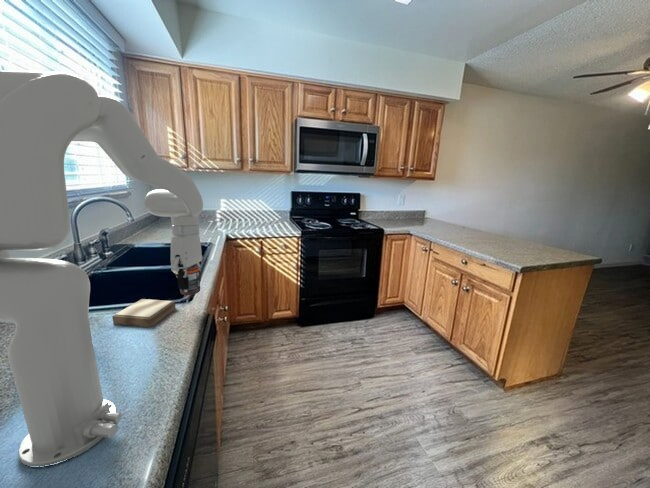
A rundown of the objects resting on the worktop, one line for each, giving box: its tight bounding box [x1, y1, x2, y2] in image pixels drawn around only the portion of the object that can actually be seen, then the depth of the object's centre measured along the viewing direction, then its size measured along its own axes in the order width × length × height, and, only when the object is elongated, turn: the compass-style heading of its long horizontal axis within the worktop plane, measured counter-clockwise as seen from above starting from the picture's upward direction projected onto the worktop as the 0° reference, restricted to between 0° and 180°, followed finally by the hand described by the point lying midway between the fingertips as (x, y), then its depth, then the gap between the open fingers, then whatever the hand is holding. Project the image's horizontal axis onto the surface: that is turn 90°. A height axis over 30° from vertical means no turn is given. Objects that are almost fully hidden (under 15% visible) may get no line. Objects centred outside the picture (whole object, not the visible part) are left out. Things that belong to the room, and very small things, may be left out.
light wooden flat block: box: [112, 298, 177, 328], centre depth 88 cm, size 12×12×3 cm
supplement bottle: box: [179, 264, 201, 296], centre depth 89 cm, size 6×6×11 cm
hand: (189, 284), depth 89 cm, fingers closed on supplement bottle, 6 cm apart
